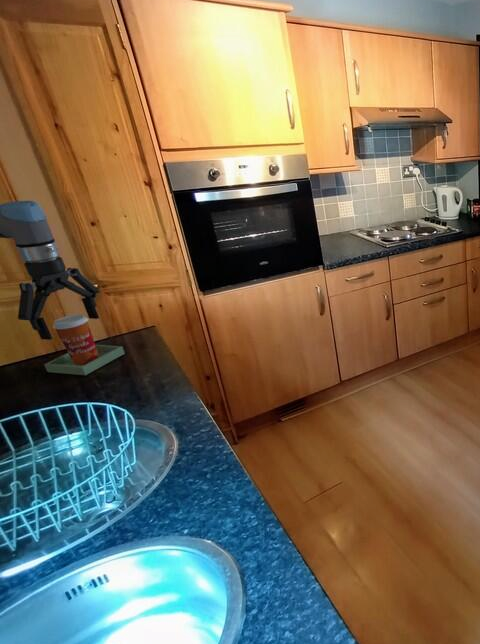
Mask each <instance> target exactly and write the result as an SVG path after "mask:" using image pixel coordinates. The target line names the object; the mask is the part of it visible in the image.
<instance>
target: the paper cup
mask: <svg viewBox="0 0 480 644" xmlns="http://www.w3.org/2000/svg"><path fill="white" fill-rule="evenodd" d="M88 321H90V318H89V317H87V316H85V315H84V314H81V313H80V314H77V313H76V314H69V315H65V316H62V317H59V318H57V319H55V320H54V321H53V325H52V329H54V330H55V332H56V333H57V335H58V338H59V339H60V341H61V342H62V344H63V347H64V348H65V349H66V352H67V353H69V355H70V357H71V358H72V360H73V362H74V363H75V365H85V364H87V363H89V362H91V361H93V360H95V359H97V358H99V356H98V352H97V349H96V346H95V344H96V342H95V339H94V337H93V334H92V331H91V328H90V325H89V323H88Z"/></svg>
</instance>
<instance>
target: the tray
mask: <svg viewBox="0 0 480 644" xmlns="http://www.w3.org/2000/svg"><path fill="white" fill-rule="evenodd" d="M95 346H96V349H97V352H98V356H99V358H97V359H95V360H93V361H91V362H89V363H87V364H85V365H75V363H74V362H73V360H72V358H71V357H70V355H69V353H68V352H67V353H65V354H63V355H61V356H58V357H56V358H55V359H52V360H50V361H48V362H46V363H44V364H43V366H44V367H45V369H46V370H45V371H46V372H47V373H56V374H66V375H77V376H87V375H88V374H91V373H92V372H95V371H96V370H98V369H99V368H102V367H103V366H105V365H107V364H108V363H110V362H113V361H114V360H116V359H118V358H119V357H122V356H123V355H125V354H126V353H125V350H124V348H123V346H122V345H121V346H120V345H109V344H107V345H106V344H96V343H95Z"/></svg>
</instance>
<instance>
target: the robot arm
mask: <svg viewBox="0 0 480 644" xmlns="http://www.w3.org/2000/svg"><path fill="white" fill-rule="evenodd" d="M48 222H49V221H48V220H47V216H46V214H45V212H44V211H43V209H42V207H41V205H40V203H38V202H37V201H34V200H16V201H8V202H3V203H0V239H12V240H13V241H14V244H15V247H16V248H17V251H18V254H19V256H20V259H21V260H22V261H24V263H23V264H24V267H25V269H26V271H27V273H28V275H29V277H31V281H29V282H20V283H19V284H18V287H19V291H20V297H19V305H18V312H17V320H20V321H29V323H30V325H31V327H32V329H33V330H34V331H37V333H38V335H39V338H40V339H41V340H47V341H50V340H53V336H52V334H51V332H50V329H49V327H48V324H47V322H46V319H45V318H44V317H41V315H42V312H43V309H44V307H45V305H46V302H47V301H48V300H47V299H48V298H49V297H50V296H51V293H56V292H58V291H61V290H65V289H67V290H69V291H70V292H71V291H72V292H73V293H75V294H77V295H79V296H81V297H82V298H81V302H82V304H83V307H84V309H85V312H86V314H87V318H88V319H92V320H98V319H100V315H99V314H98V311H97V307H98V304H97V302H96V300H95V299H96V298H97V297H98V296H97V294H99V293H100V290H99V289H98V288H97V287H96V286H95V285H93V283H92V282H90V281H89V280H88V279H87V278H86V277H85V276H84V275H83V274H82V273H81V271H80V269H79V268H76V267H66V265H65V263H64V260H63V258H62V257H61V252H60V250H59V247H58V244H57V242H56V241H55V237H54V236H53V233H52V231H51V227H50V225H49V223H48ZM66 268H67V269H66ZM69 278H72V280H74V281H75V282H76V283H77V284H79V286H78V285H77V284H76V283H74V282H72V281H70V280H69Z"/></svg>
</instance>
